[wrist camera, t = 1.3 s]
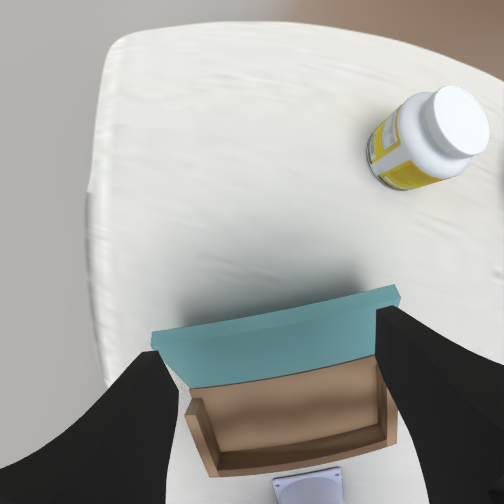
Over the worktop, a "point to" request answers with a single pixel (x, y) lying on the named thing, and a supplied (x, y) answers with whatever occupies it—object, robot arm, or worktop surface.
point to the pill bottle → (428, 139)
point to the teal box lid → (275, 340)
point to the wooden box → (293, 419)
